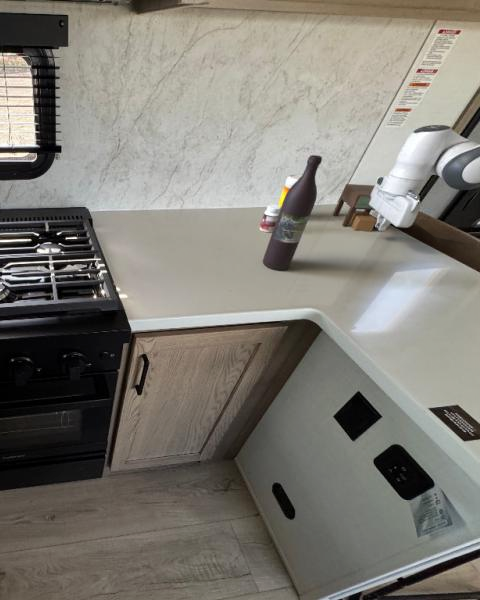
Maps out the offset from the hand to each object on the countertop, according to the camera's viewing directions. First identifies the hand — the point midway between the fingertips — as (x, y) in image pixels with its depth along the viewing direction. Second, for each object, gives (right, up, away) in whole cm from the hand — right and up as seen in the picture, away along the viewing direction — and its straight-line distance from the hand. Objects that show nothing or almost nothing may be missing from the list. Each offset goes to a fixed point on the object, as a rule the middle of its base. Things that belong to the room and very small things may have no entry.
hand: (379, 229), depth 110 cm
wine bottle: (-39, -13, -10) cm, 43 cm away
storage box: (+2, +3, +11) cm, 11 cm away
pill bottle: (-31, +1, +9) cm, 33 cm away
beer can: (-21, +7, +17) cm, 28 cm away
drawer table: (+3, +6, +14) cm, 15 cm away
